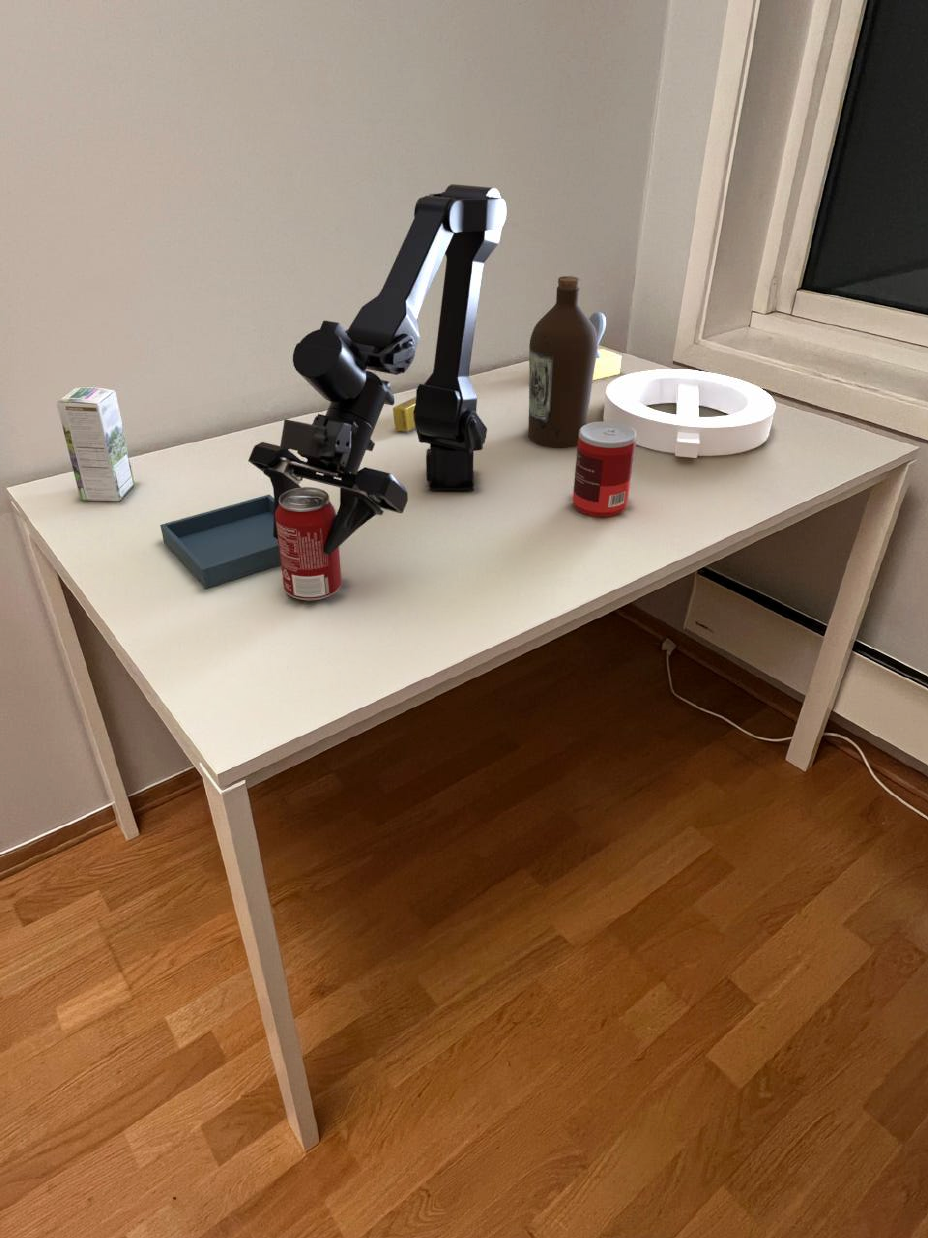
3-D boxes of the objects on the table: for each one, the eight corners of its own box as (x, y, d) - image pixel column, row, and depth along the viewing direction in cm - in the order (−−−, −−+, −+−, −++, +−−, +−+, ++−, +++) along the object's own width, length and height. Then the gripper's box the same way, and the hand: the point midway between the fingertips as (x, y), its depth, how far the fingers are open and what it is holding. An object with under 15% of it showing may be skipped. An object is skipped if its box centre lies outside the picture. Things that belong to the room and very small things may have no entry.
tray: (271, 511, 116) (269, 494, 114) (319, 551, 107) (317, 533, 105) (164, 543, 108) (159, 524, 107) (205, 589, 99) (202, 569, 98)
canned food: (631, 497, 121) (641, 424, 115) (621, 522, 115) (631, 446, 108) (579, 489, 123) (586, 417, 117) (566, 513, 117) (573, 438, 110)
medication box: (433, 410, 149) (431, 387, 147) (446, 411, 148) (444, 389, 146) (394, 430, 140) (391, 406, 138) (407, 432, 139) (405, 408, 137)
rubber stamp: (600, 366, 170) (606, 305, 163) (620, 374, 166) (628, 311, 160) (563, 375, 165) (568, 312, 159) (583, 383, 161) (589, 319, 155)
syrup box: (97, 483, 123) (72, 386, 114) (137, 485, 122) (115, 387, 114) (80, 501, 118) (53, 400, 110) (121, 502, 118) (97, 402, 109)
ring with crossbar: (685, 385, 161) (689, 360, 159) (804, 433, 142) (811, 406, 139) (570, 412, 149) (573, 386, 146) (684, 469, 129) (689, 440, 127)
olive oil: (568, 421, 145) (581, 267, 131) (600, 443, 137) (618, 283, 123) (513, 430, 142) (520, 273, 127) (543, 453, 134) (555, 289, 119)
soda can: (331, 608, 96) (322, 514, 90) (275, 601, 97) (263, 508, 91) (349, 578, 102) (342, 487, 95) (296, 571, 103) (286, 482, 96)
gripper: (247, 372, 93) (194, 501, 91) (390, 402, 86) (335, 543, 84) (298, 418, 103) (251, 535, 101) (430, 448, 96) (381, 574, 94)
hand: (300, 545), depth 95 cm, fingers closed on soda can, 7 cm apart
